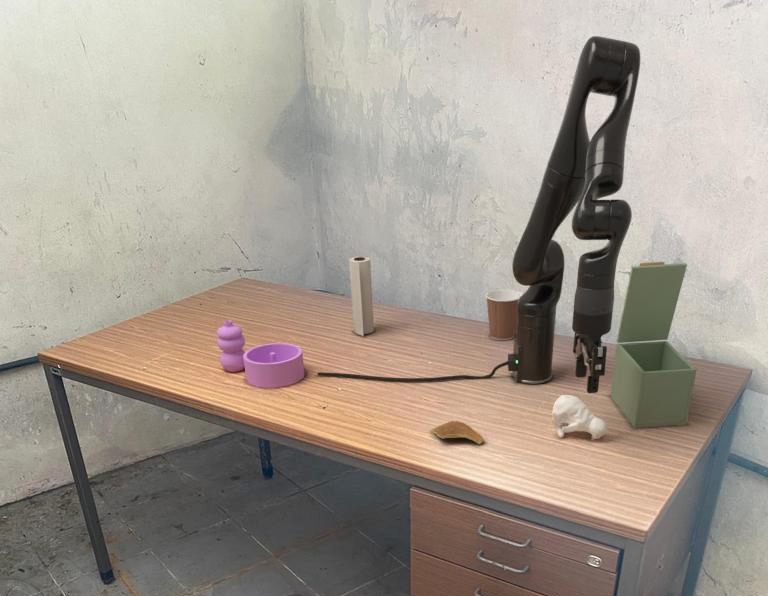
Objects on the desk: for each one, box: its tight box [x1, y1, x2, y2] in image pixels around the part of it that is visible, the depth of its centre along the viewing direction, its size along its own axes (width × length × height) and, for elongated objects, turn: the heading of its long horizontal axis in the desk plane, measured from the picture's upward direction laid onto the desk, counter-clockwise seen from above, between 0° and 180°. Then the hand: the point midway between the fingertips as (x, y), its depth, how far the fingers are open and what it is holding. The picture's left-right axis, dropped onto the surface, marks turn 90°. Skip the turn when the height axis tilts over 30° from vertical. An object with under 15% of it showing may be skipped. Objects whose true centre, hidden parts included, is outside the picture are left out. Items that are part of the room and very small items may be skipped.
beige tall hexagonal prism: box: [348, 256, 375, 337], centre depth 222 cm, size 7×6×21 cm
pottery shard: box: [432, 420, 485, 445], centre depth 166 cm, size 10×9×2 cm
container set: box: [216, 319, 306, 389], centre depth 200 cm, size 25×15×13 cm, turn 60°
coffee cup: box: [485, 289, 524, 341], centre depth 216 cm, size 10×10×12 cm
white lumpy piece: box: [551, 394, 608, 441], centre depth 163 cm, size 6×8×12 cm
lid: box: [616, 261, 688, 344], centre depth 170 cm, size 18×12×5 cm
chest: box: [609, 340, 697, 429], centre depth 171 cm, size 18×12×13 cm, turn 3°
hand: (586, 384), depth 159 cm, fingers open, 8 cm apart
